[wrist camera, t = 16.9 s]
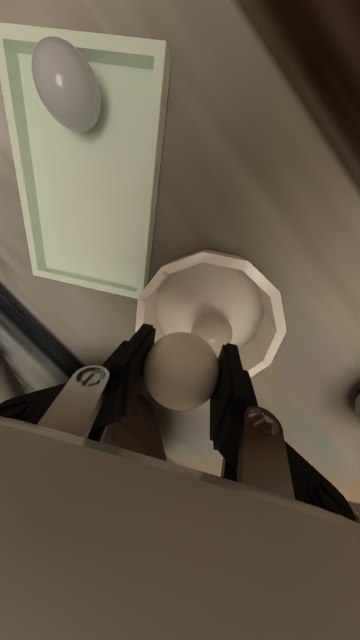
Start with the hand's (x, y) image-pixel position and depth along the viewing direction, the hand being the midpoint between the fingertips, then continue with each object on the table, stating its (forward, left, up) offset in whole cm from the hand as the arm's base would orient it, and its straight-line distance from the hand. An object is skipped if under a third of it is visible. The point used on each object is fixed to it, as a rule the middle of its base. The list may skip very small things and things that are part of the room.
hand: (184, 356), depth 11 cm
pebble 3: (+2, +2, -9) cm, 10 cm away
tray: (-8, -12, -10) cm, 17 cm away
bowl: (+1, +1, -10) cm, 10 cm away
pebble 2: (0, 0, -1) cm, 1 cm away
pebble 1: (-14, -12, -9) cm, 20 cm away
